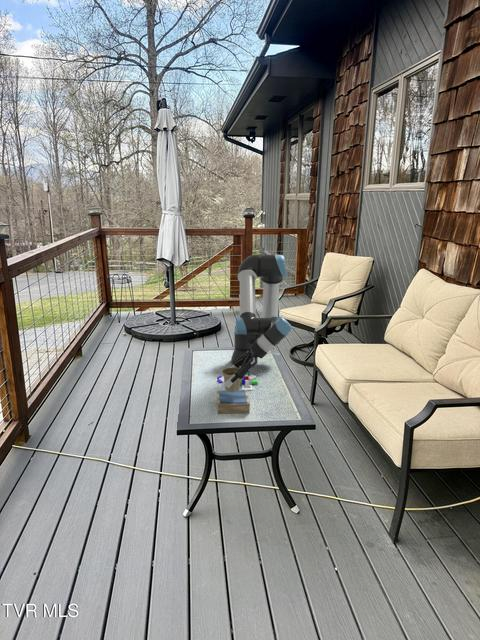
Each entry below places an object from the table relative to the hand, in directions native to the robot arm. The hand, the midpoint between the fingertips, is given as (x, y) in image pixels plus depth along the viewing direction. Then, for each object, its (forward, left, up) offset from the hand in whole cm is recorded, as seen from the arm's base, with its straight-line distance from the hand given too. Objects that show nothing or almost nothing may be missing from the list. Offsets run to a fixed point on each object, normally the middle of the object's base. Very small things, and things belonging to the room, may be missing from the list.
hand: (225, 381), depth 189 cm
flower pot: (-2, +2, -4) cm, 5 cm away
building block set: (-25, -16, -13) cm, 33 cm away
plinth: (-2, +2, -13) cm, 13 cm away
